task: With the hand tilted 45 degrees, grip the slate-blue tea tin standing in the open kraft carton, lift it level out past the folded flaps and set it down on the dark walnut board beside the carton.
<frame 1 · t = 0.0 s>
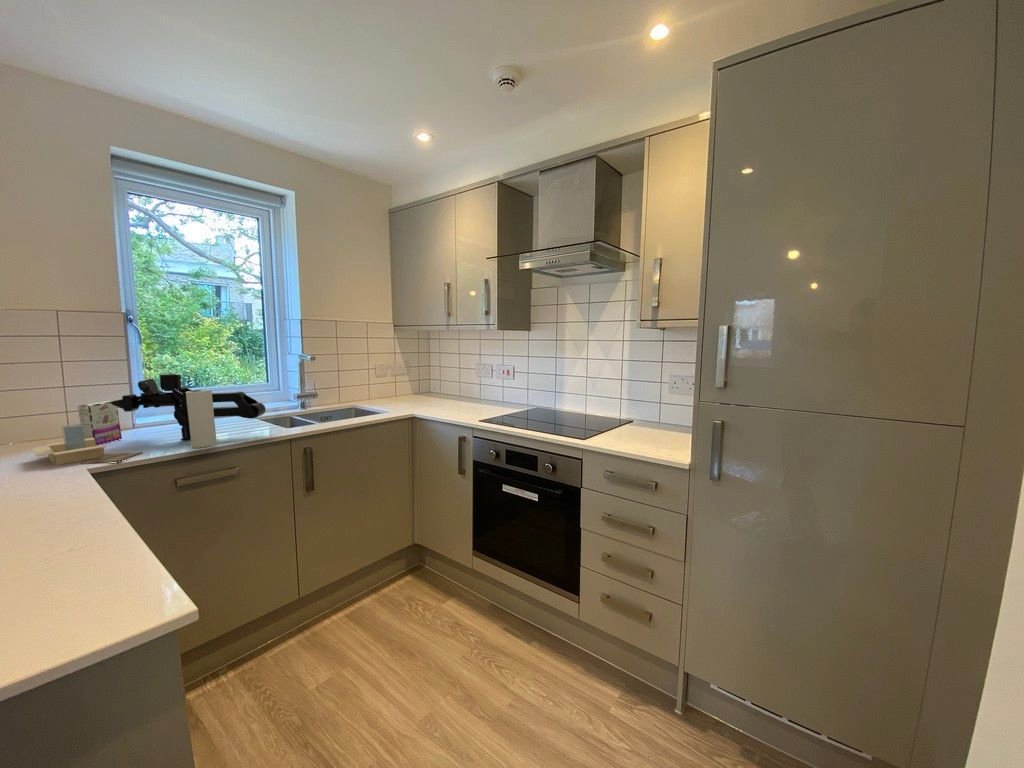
hand: (120, 401, 168), 17 cm above the counter, tool horizontal, fingers open, 9 cm apart
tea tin: (76, 456, 146), resting on carton
candy bar box: (103, 443, 167), on the counter
carton: (76, 458, 146), on the counter
board: (113, 459, 143), on the counter
tall white block: (202, 447, 159), on the counter
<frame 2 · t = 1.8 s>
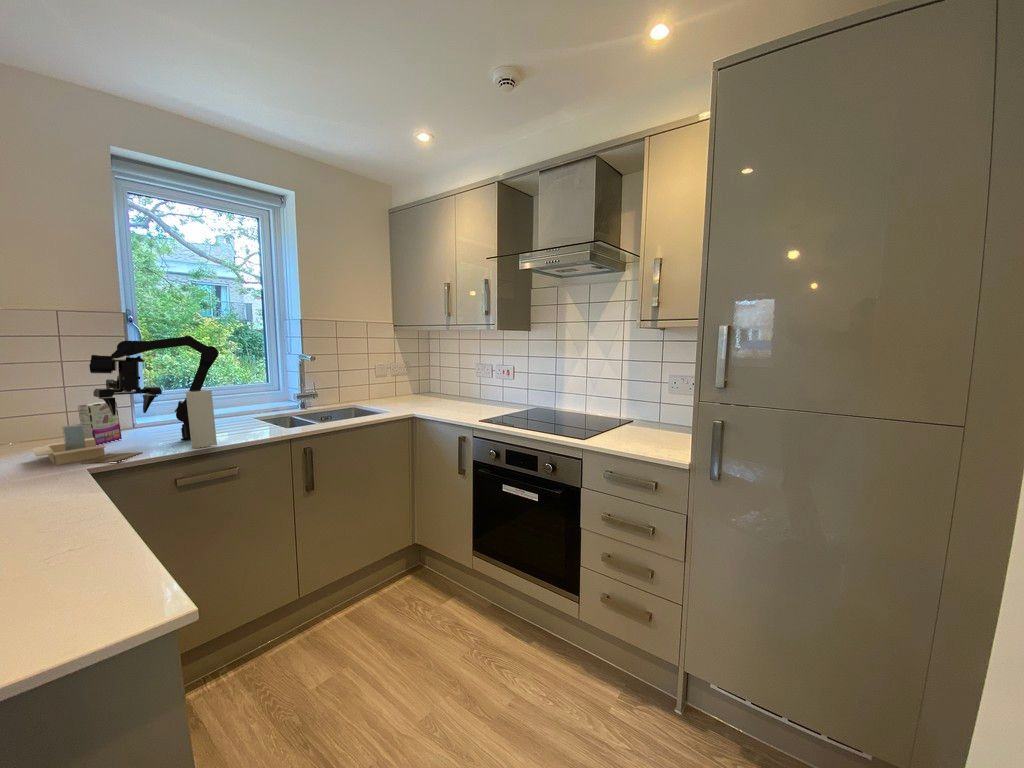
hand: (129, 414, 160), 12 cm above the counter, tool pointing down, fingers open, 9 cm apart
nothing on the counter moved.
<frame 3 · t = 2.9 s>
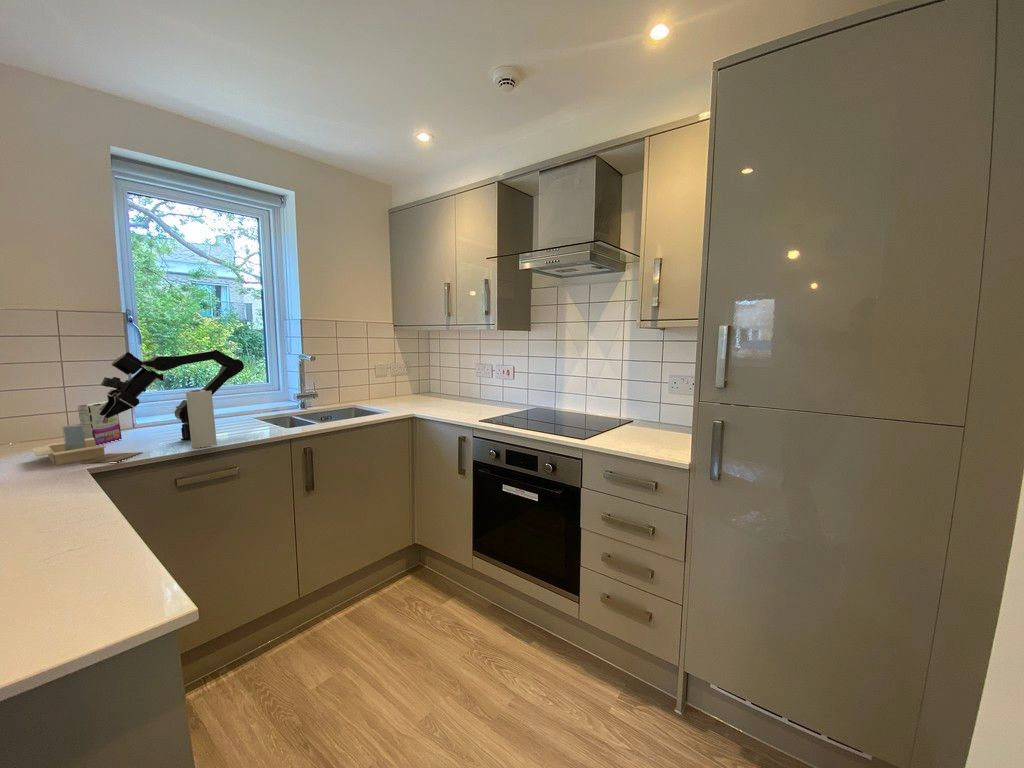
hand: (103, 416, 151), 13 cm above the counter, tool tilted 45°, fingers open, 9 cm apart
nothing on the counter moved.
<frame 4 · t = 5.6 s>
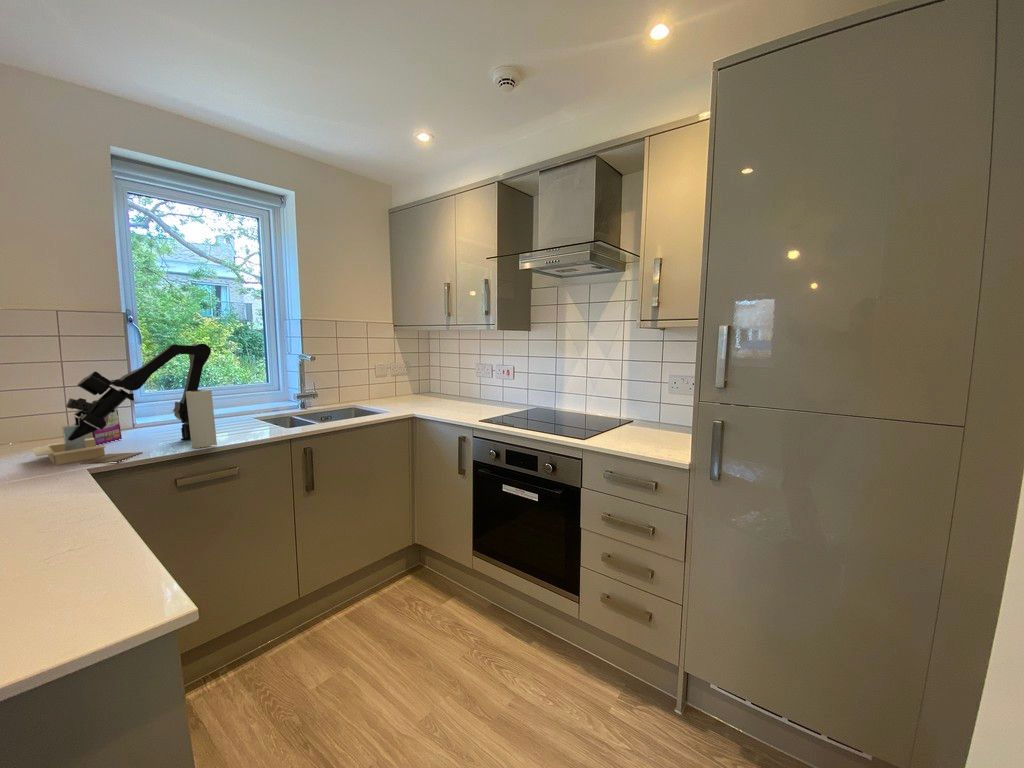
hand: (68, 439, 144), 7 cm above the counter, tool tilted 45°, fingers closed on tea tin, 4 cm apart
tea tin: (76, 456, 146), resting on carton, touching gripper
everything else where it was.
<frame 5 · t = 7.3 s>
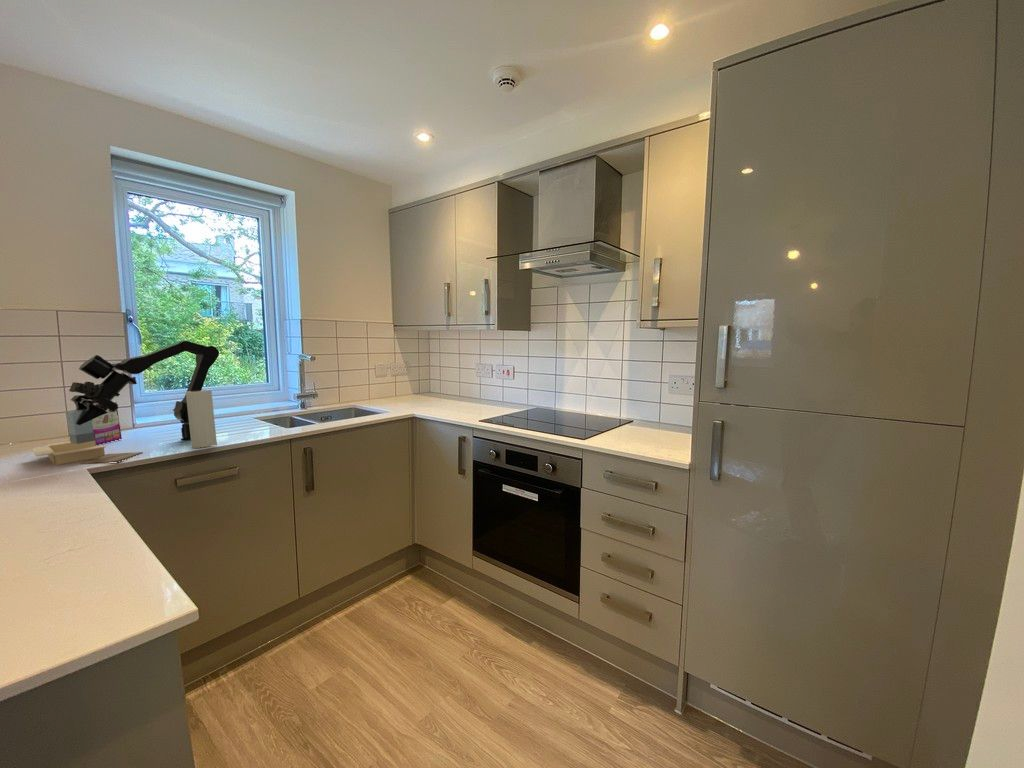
hand: (74, 423, 142), 13 cm above the counter, tool tilted 45°, fingers closed on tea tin, 4 cm apart
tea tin: (82, 441, 144), point 6 cm above the counter, touching gripper
everything else where it was.
when the fingers open (8 cm above the counter, at t = 9.3 s): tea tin drops 1 cm, resting on board.
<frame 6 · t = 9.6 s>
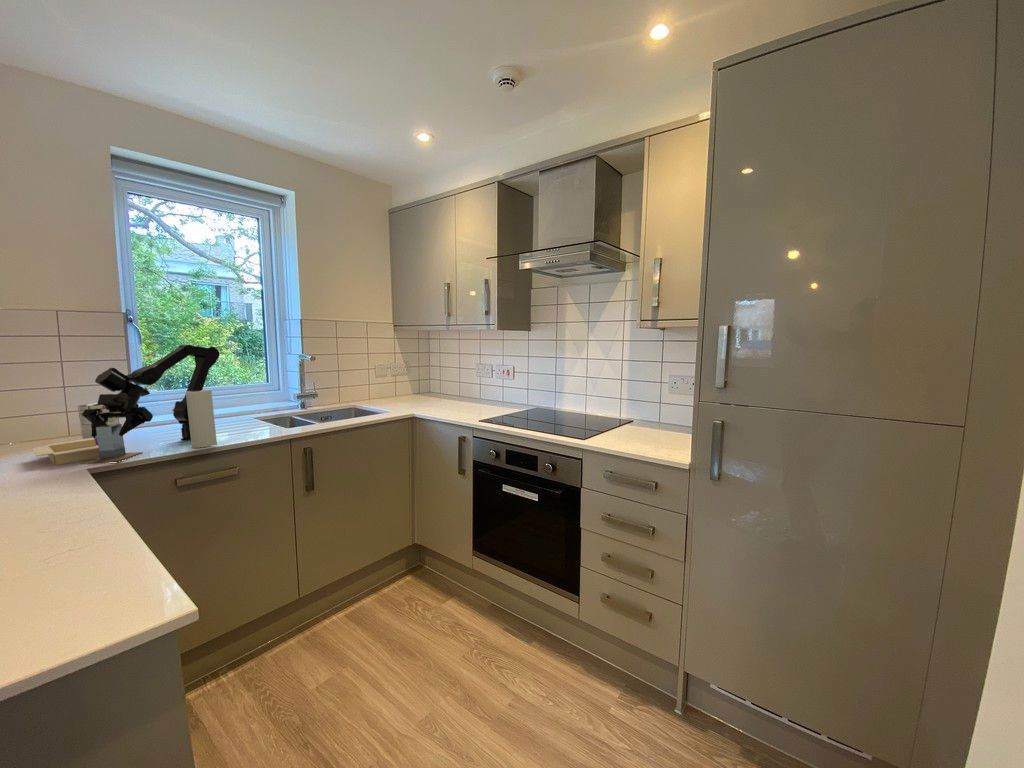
hand: (106, 436, 141), 9 cm above the counter, tool tilted 45°, fingers open, 8 cm apart
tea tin: (113, 457, 143), point 1 cm above the counter, touching board
everything else where it was.
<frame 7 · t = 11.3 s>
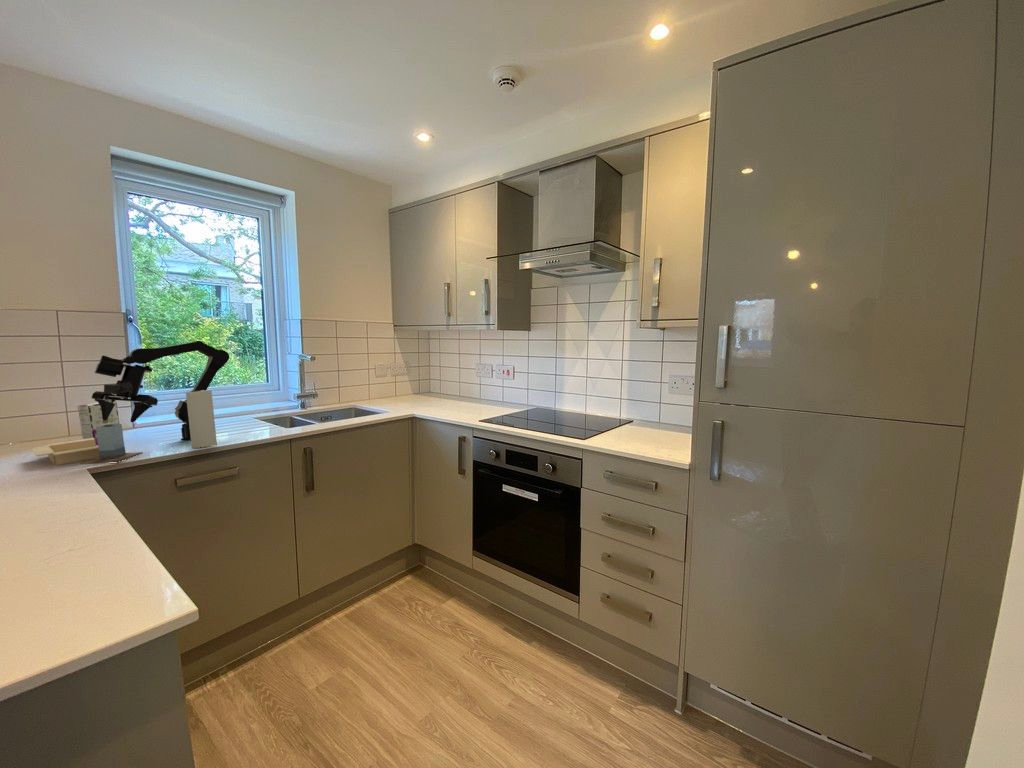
hand: (118, 421, 152), 11 cm above the counter, tool tilted 25°, fingers open, 9 cm apart
nothing on the counter moved.
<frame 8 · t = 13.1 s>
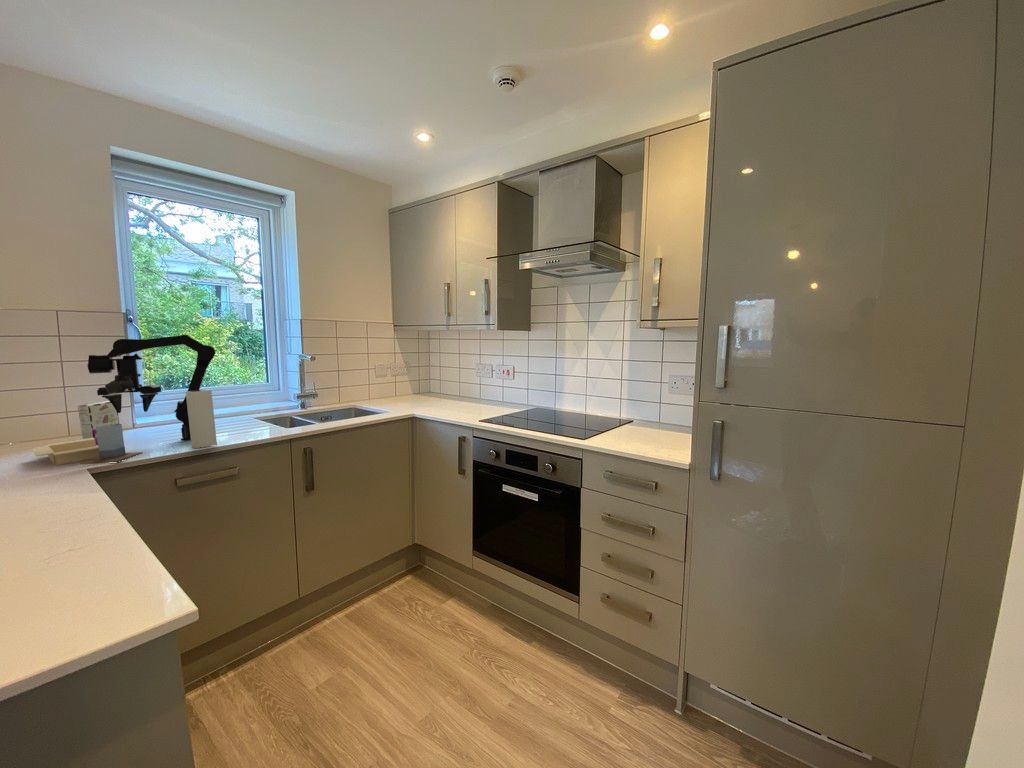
hand: (132, 412, 161), 13 cm above the counter, tool pointing down, fingers open, 9 cm apart
nothing on the counter moved.
at the end: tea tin inside the target area on the board (0.1 cm from its centre), point 0.8 cm above the board's base; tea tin tilted 0°; the gripper is holding nothing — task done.
